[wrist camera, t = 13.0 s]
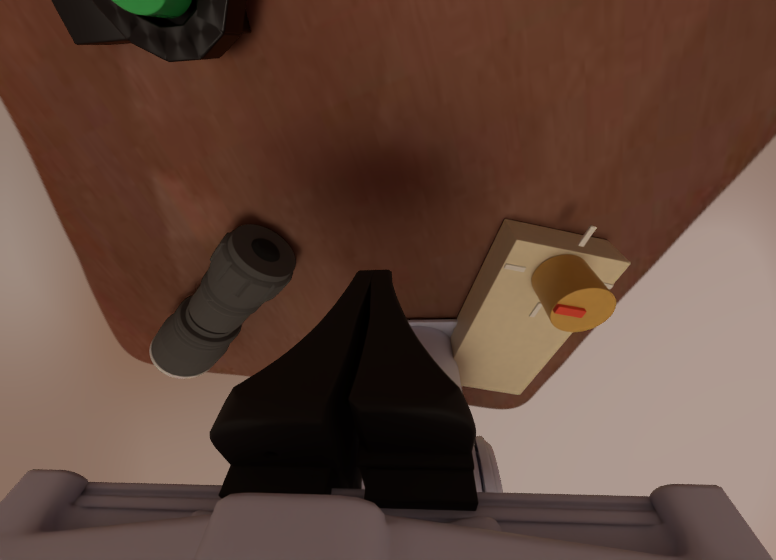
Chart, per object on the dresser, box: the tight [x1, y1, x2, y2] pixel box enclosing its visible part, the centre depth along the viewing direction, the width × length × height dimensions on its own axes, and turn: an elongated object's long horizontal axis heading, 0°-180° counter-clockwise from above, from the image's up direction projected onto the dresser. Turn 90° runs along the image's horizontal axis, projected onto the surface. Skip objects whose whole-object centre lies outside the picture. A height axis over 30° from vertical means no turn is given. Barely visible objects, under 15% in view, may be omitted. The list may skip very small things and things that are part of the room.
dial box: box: [450, 219, 631, 395], centre depth 25 cm, size 18×8×3 cm, turn 169°
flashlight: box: [150, 224, 296, 379], centre depth 24 cm, size 15×5×5 cm, turn 137°
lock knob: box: [531, 254, 616, 332], centre depth 19 cm, size 4×4×4 cm
